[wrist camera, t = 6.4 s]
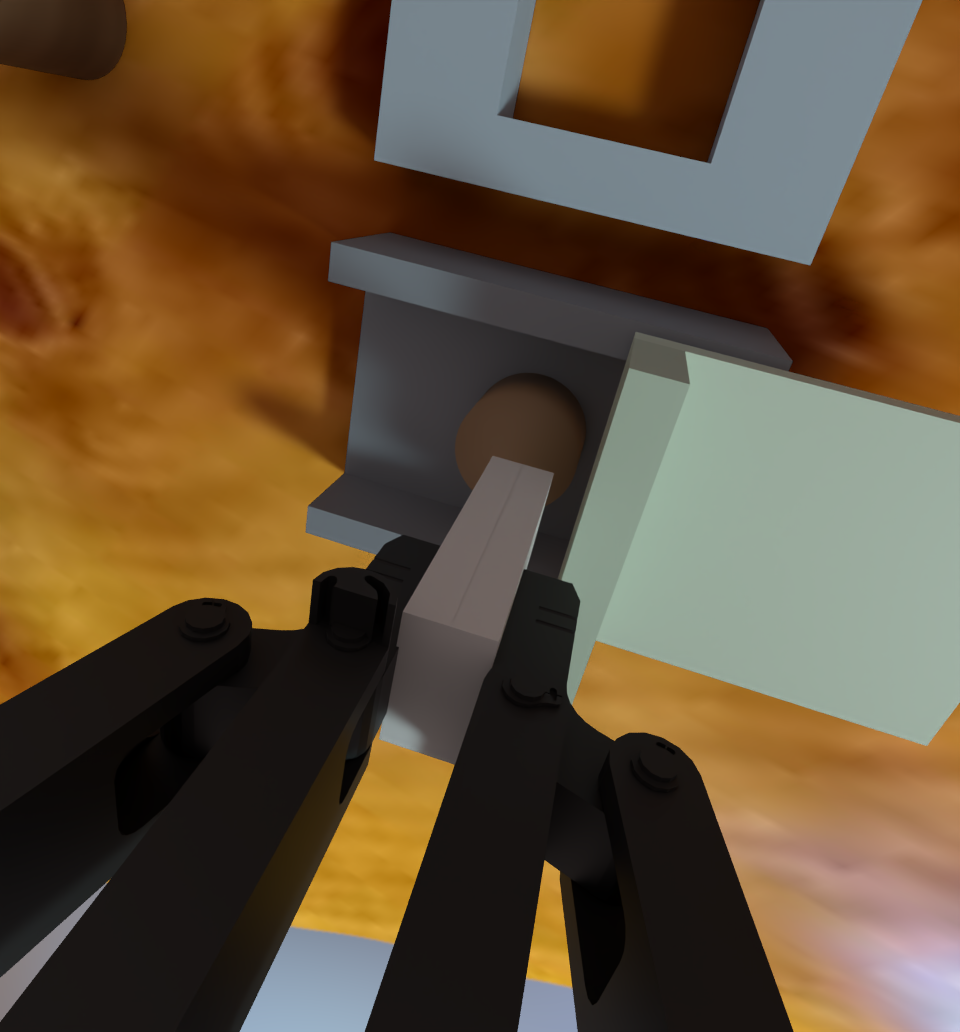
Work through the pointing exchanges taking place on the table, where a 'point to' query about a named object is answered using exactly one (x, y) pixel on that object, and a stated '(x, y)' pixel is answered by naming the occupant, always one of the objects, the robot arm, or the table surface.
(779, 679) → the cover
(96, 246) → the table surface
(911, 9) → the socket
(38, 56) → the pin
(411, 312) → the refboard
